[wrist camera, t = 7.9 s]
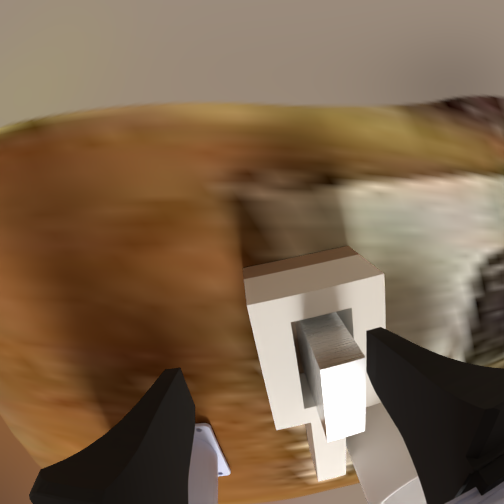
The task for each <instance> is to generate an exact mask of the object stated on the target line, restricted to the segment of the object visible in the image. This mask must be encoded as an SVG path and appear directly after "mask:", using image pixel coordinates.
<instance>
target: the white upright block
mask: <svg viewBox="0 0 504 504" xmlns="http://www.w3.org/2000/svg"><path fill="white" fill-rule="evenodd" d="M295 326H296V332H297V338H298V344H299V350H300V356H301V362H302V367H303V370H304V373H305V376H306V379H307V382H308V385H309V388H310V391H311V394H312V397H313V400H314V403H315V406H316V409H317V412H318V415H319V418H320V421H321V424H322V427H323V430H324V433H325V436H326V439H327V442H329V441H333V440H337V439H340V438H344V437H347V436H350V435H354V434H357V433H360V432H363V431H365V414H366V357H365V356H364V354H363V353H362V351H361V349H360V348H359V346H358V345H357V343H356V342H355V340H354V339H353V337H352V336H351V334H350V333H349V331H348V330H347V328H346V327H345V325H344V323H343V322H342V320H341V319H340V317H339V316H338V314H337V313H336V312H332V313H328V314H324V315H320V316H316V317H312V318H307V319H303V320H299V321H295Z"/></svg>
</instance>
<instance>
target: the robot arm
mask: <svg viewBox="0 0 504 504" xmlns="http://www.w3.org/2000/svg"><path fill="white" fill-rule="evenodd" d="M366 372H367V374H368V377H369V379H370V382H371V384H372V386H373V388H374V391H375V392H376V394H377V396H378V397H379V399H380V401H381V402H382V404H383V406H384V407H385V409H386V411H387V412H388V414H389V415H390V417H391V419H392V420H393V422H394V424H395V425H396V427H397V428H398V430H399V432H400V434H401V436H402V438H403V440H404V442H405V444H406V447H407V449H408V451H409V454H410V456H411V459H412V461H413V464H414V466H415V469H416V472H417V474H418V477H419V480H420V483H421V486H422V489H423V492H424V496H425V499H426V503H427V504H504V369H502V368H491V367H484V366H479V365H473V364H469V363H464V362H461V361H457V360H454V359H451V358H447V357H445V356H442V355H439V354H437V353H434V352H432V351H429V350H427V349H425V348H422V347H420V346H418V345H416V344H414V343H412V342H410V341H408V340H406V339H404V338H402V337H400V336H398V335H396V334H394V333H392V332H390V331H388V330H386V329H384V328H382V327H378V328H375V329H371V330H368V331H366ZM197 428H200V429H197ZM230 473H231V470H230V468H229V466H228V464H227V461H226V459H225V457H224V455H223V453H222V451H221V448H220V446H219V444H218V442H217V440H216V437H215V435H214V433H213V430H212V428H211V426H210V425H209V424H207V423H199V424H195V405H194V402H193V400H192V397H191V395H190V392H189V389H188V387H187V384H186V382H185V379H184V376H183V374H182V371H181V368H173V369H165V371H164V372H163V373H162V374H161V375H160V376H159V378H158V379H157V380H156V381H155V383H154V384H153V385H152V386H151V388H150V389H149V390H148V391H147V392H146V394H145V395H144V396H143V397H142V398H141V400H140V401H139V402H138V403H137V404H136V405H135V406H134V407H133V408H132V410H131V411H130V412H129V413H128V414H127V415H126V416H125V417H124V418H123V419H122V420H121V421H120V422H119V423H118V424H117V425H115V426H114V427H113V428H112V429H111V430H110V431H108V432H107V433H106V434H105V435H103V436H102V437H101V438H99V439H98V440H96V441H95V442H94V443H92V444H91V445H89V446H88V447H86V448H85V449H83V450H81V451H80V452H78V453H76V454H74V455H72V456H71V457H69V458H67V459H65V460H63V461H60V462H58V463H56V464H53V465H51V466H48V467H46V468H43V469H41V470H40V472H39V474H38V476H37V478H36V481H35V483H34V485H33V488H32V490H31V492H30V494H29V497H30V500H31V502H32V503H33V504H218V476H226V475H229V474H230Z"/></svg>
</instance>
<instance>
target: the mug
mask: <svg viewBox="0 0 504 504" xmlns="http://www.w3.org/2000/svg"><path fill="white" fill-rule="evenodd" d="M346 447H347V449H348V452H349V455H350V457H351V460H352V462H353V465H354V468H355V470H356V473H357V476H358V478H359V481H360V484H361V486H362V489H363V492H364V494H365V497H366V500H367V502H368V504H427V503H426V499H425V496H424V492H423V489H422V486H421V483H420V480H419V477H418V474H417V472H416V469H415V466H414V464H413V461H412V459H411V456H410V454H409V451H408V449H407V447H406V444H405V442H404V440H403V438H402V436H401V434H400V432H399V430H398V428H397V427H396V425H395V424H394V422H393V420H392V419H391V417H390V415H389V414H388V412H387V411H386V409H385V407H384V406H383V404H382V402H381V403H378V404H375V405H371V406H368V407H366V414H365V431H363V432H360V433H357V434H354V435H350V436H347V437H346Z"/></svg>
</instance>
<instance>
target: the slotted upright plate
mask: <svg viewBox="0 0 504 504" xmlns="http://www.w3.org/2000/svg"><path fill="white" fill-rule="evenodd" d="M243 276H244V285H245V294H246V303H247V308H248V313H249V317H250V321H251V326H252V330H253V334H254V339H255V343H256V347H257V351H258V356H259V360H260V364H261V368H262V373H263V377H264V381H265V385H266V389H267V394H268V398H269V402H270V406H271V410H272V414H273V418H274V422H275V426H276V430H279V429H284V428H289V427H294V426H298V425H303V424H306V431H307V437H308V444H309V449H310V452H311V456H312V460H313V463H314V467H315V471H316V475H317V478H318V482H319V481H323V480H327V479H331V478H335V477H338V476H342V475H345V474H346V437H344V438H340V439H337V440H333V441H329V442H327V439H326V436H325V433H324V430H323V427H322V424H321V421H320V418H319V415H318V412H317V409H316V406H315V403H314V400H313V397H312V394H311V391H310V388H309V385H308V382H307V379H306V376H305V373H304V370H303V367H302V362H301V356H300V350H299V344H298V338H297V332H296V326H295V321H299V320H303V319H307V318H312V317H316V316H320V315H324V314H328V313H332V312H336V313H337V314H338V316H339V317H340V319H341V320H342V322H343V323H344V325H345V327H346V328H347V330H348V331H349V333H350V334H351V336H352V337H353V339H354V340H355V342H356V343H357V345H358V346H359V348H360V349H361V351H362V353H363V354H364V356H365V357H366V331H368V330H371V329H375V328H378V327H382V328H384V329H386V315H385V280H384V273H383V272H381V271H380V270H379V269H378V268H376V267H375V266H374V265H372V264H371V263H370V262H369V261H367V260H366V259H365V258H364V257H362V256H361V255H360V254H358V253H357V252H356V251H354V250H353V249H352V248H350V247H349V246H344V247H340V248H335V249H331V250H326V251H321V252H317V253H312V254H307V255H303V256H298V257H293V258H289V259H284V260H279V261H275V262H270V263H265V264H260V265H255V266H251V267H246V268H243ZM378 403H381V401H380V399H379V397H378V396H377V394H376V392H375V391H374V388H373V386H372V384H371V382H370V379H369V377H368V374H367V372H366V407H368V406H371V405H375V404H378Z"/></svg>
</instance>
